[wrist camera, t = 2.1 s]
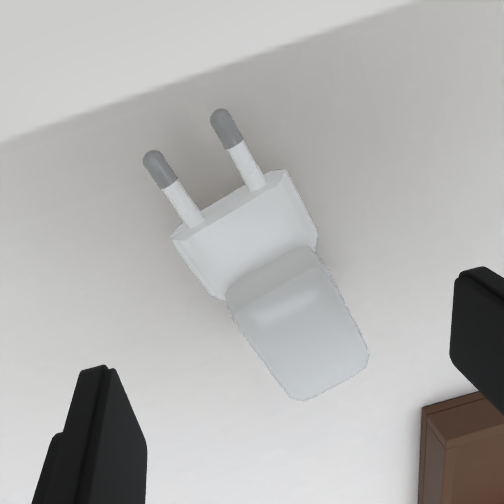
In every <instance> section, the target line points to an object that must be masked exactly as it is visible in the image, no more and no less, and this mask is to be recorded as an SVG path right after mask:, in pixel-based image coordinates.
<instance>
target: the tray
mask: <svg viewBox="0 0 504 504" xmlns="http://www.w3.org/2000/svg"><path fill="white" fill-rule="evenodd" d="M418 504H504V416H503V415H502V414H501V413H500V412H499V411H498V410H497V409H496V408H495V407H494V406H493V405H492V404H491V403H490V402H489V401H488V400H487V399H486V397H485V396H484V395H483V394H482V393H481V392H480V391H479V392H476V393H473V394H469V395H466V396H462V397H459V398H455V399H452V400H448V401H445V402H441V403H438V404H434V405H431V406H427V407H424V408H422V426H421V449H420V472H419V495H418Z"/></svg>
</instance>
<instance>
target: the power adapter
mask: <svg viewBox="0 0 504 504" xmlns="http://www.w3.org/2000/svg"><path fill="white" fill-rule="evenodd" d="M210 123H211V125H212V127H213V129H214V130H215V132H216V134H217V136H218V137H219V139H220V141H221V142H222V144H223V146H224V148H225V149H227V151H228V153H229V154H230V156H231V158H232V160H233V161H234V163H235V165H236V167H237V168H238V170H239V172H240V174H241V177H242V179H243V181H244V183H245V185H243V186H242V187H240V188H238V189H237V190H235V191H233V192H232V193H230V194H228V195H226V196H225V197H223V198H221V199H220V200H218V201H216V202H215V203H213V204H211V205H210V206H208V207H206V208H205V209H203V210H201V211H200V210H199V209H198V207H197V206H196V204H195V203H193V201H192V200H191V198H190V197H189V195H188V194H187V192H186V191H185V189H184V188H183V186H182V185H181V183H180V182H179V180H178V177H177V176H176V174H175V173H174V171H173V170H172V168H171V167H170V165H169V164H168V162H167V161H166V159H165V158H164V156H163V155H162V153H161V152H160V151H158V150H151V151H149V152H147V153H146V154H145V155H144V157H143V164H144V166H145V168H146V169H147V170H148V172H149V173H150V175H151V176H152V178H153V179H154V180H155V182H156V183H157V185H158V186H159V188H160V189H162V190H163V192H164V193H165V195H166V196H167V197H168V199H169V200H170V202H171V203H172V205H173V206H174V207H175V209H176V210H177V212H178V215H179V216H180V218H181V219H182V221H183V223H181V224H180V225H179V226H178V228H177V229H176V230H175V231H174V233H173V234H172V235H171V236H170V241H171V242H172V244H173V245H174V247H175V248H176V250H177V251H178V252H179V254H180V255H181V257H182V258H183V259H184V261H185V262H186V263H187V265H188V266H189V267H190V269H191V270H192V271H193V273H194V274H195V275H196V277H197V278H198V280H199V281H200V282H201V284H202V285H203V286H204V288H205V289H206V290H207V291H208V293H209V294H210V295H211V296H213V297H215V298H217V299H220V300H224V301H227V304H228V307H229V310H230V313H231V316H232V319H233V321H234V322H235V324H236V325H237V327H238V328H239V330H240V331H241V333H242V334H243V336H244V337H245V338H246V340H247V341H248V343H249V344H250V345H251V347H252V348H253V350H254V351H255V352H256V354H257V355H258V356H259V358H260V359H261V360H262V362H263V363H264V365H265V366H266V367H267V369H268V370H269V371H270V373H271V374H272V375H273V377H274V378H275V379H276V381H277V382H278V383H279V384H280V386H281V387H282V388H283V389H284V391H285V392H286V393H287V394H288V395H289V397H290V398H292V399H295V400H298V401H303V402H304V401H307V400H309V399H311V398H314V397H316V396H318V395H320V394H322V393H324V392H326V391H327V390H329V389H331V388H333V387H335V386H336V385H338V384H340V383H342V382H344V381H345V380H347V379H349V378H350V377H352V376H354V375H355V374H357V373H358V372H360V371H361V370H363V369H364V368H366V365H367V363H368V360H369V353H368V349H367V345H366V343H365V341H364V339H363V337H362V334H361V332H360V330H359V328H358V326H357V324H356V322H355V320H354V319H353V317H352V315H351V313H350V311H349V309H348V307H347V305H346V303H345V301H344V299H343V298H342V296H341V294H340V292H339V290H338V288H337V286H336V284H335V283H334V281H333V279H332V277H331V276H330V274H329V272H328V270H327V269H326V267H325V265H324V264H323V262H322V261H321V259H320V258H319V256H318V255H317V254H316V252H315V247H316V244H317V240H318V232H317V230H316V227H315V225H314V223H313V221H312V219H311V217H310V215H309V213H308V211H307V209H306V207H305V205H304V203H303V201H302V199H301V197H300V195H299V193H298V191H297V189H296V187H295V186H294V184H293V182H292V180H291V178H290V176H289V174H288V173H287V171H286V170H285V169H281V170H274V171H269V172H267V173H265V174H264V175H263V173H262V172H261V170H260V168H259V166H258V165H257V164H256V163H255V161H254V159H253V157H252V155H251V153H250V152H249V150H248V148H247V146H246V144H245V142H244V141H243V137H242V135H241V133H240V131H239V129H238V128H237V126H236V124H235V122H234V120H233V118H232V117H231V115H230V113H229V112H228V111H227V110H226V109H217V110H215V111H214V112H213V113H212V114H211V116H210Z"/></svg>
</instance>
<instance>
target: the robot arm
mask: <svg viewBox="0 0 504 504" xmlns="http://www.w3.org/2000/svg"><path fill="white" fill-rule="evenodd" d="M449 353H450V358H451V361H452V363H453V364H454V366H455V367H456V368H457V369H458V370H459V371H460V372H461V373H462V374H463V375H464V376H465V377H466V378H467V379H468V380H469V381H470V382H471V383H472V384H473V385H474V386H475V387H476V388H477V389H478V390H479V391H480V392H481V393H482V394H483V395H484V396H485V397H486V399H487V400H488V401H489V402H490V403H491V404H492V405H493V406H494V407H495V408H496V409H497V410H498V411H499V412H500V413H501V414H502V415H503V416H504V278H503V277H501V276H500V275H498V274H496V273H495V272H493V271H491V270H490V269H488V268H486V267H477V268H473V269H469V270H466V271H463V272H461V273H460V274H459V278H457V279H456V280H455V283H454V296H453V310H452V324H451V337H450V351H449ZM146 474H147V445H146V441H145V438H144V436H143V433H142V431H141V428H140V426H139V424H138V421H137V419H136V416H135V414H134V412H133V409H132V407H131V405H130V402H129V400H128V397H127V395H126V393H125V390H124V388H123V385H122V383H121V381H120V378H119V376H118V374H117V371H116V370H115V369H114V368H112V369H108V367H107V366H106V365H100V366H97V367H93V368H89V369H85V370H82V371H81V372H80V374H79V377H78V380H77V384H76V387H75V391H74V394H73V398H72V401H71V405H70V408H69V412H68V416H67V419H66V423H65V426H64V430H63V432H61V433H57V434H55V436H54V437H53V438H52V440H51V443H50V445H49V449H48V452H47V455H46V458H45V462H44V465H43V468H42V471H41V474H40V478H39V481H38V484H37V487H36V491H35V494H34V497H33V500H32V504H145V495H146Z"/></svg>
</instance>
